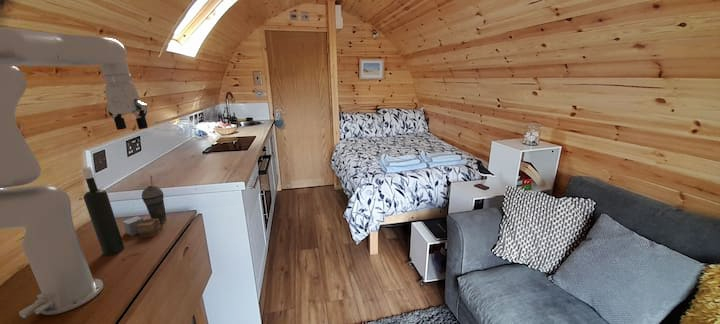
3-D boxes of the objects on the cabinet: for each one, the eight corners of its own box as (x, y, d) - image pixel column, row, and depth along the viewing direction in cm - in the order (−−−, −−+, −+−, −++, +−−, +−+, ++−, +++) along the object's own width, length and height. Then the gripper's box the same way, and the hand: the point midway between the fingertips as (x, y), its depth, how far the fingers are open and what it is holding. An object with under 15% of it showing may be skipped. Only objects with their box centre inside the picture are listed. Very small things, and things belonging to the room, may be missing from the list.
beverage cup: (152, 219, 124) (140, 174, 118) (172, 216, 126) (160, 171, 120) (146, 227, 117) (132, 180, 112) (167, 223, 119) (154, 177, 114)
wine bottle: (99, 253, 100) (70, 169, 92) (118, 245, 105) (92, 164, 97) (108, 257, 98) (79, 171, 89) (128, 248, 103) (101, 165, 94)
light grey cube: (132, 235, 111) (128, 224, 110) (126, 233, 114) (122, 221, 113) (146, 229, 115) (143, 218, 114) (140, 227, 118) (137, 216, 117)
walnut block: (154, 236, 110) (150, 224, 108) (140, 237, 110) (136, 225, 108) (161, 229, 115) (158, 218, 113) (148, 231, 114) (145, 219, 113)
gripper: (88, 82, 102) (103, 131, 107) (128, 79, 98) (142, 130, 103) (109, 81, 109) (123, 127, 114) (148, 78, 105) (160, 126, 110)
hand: (132, 128), depth 109 cm, fingers open, 9 cm apart
